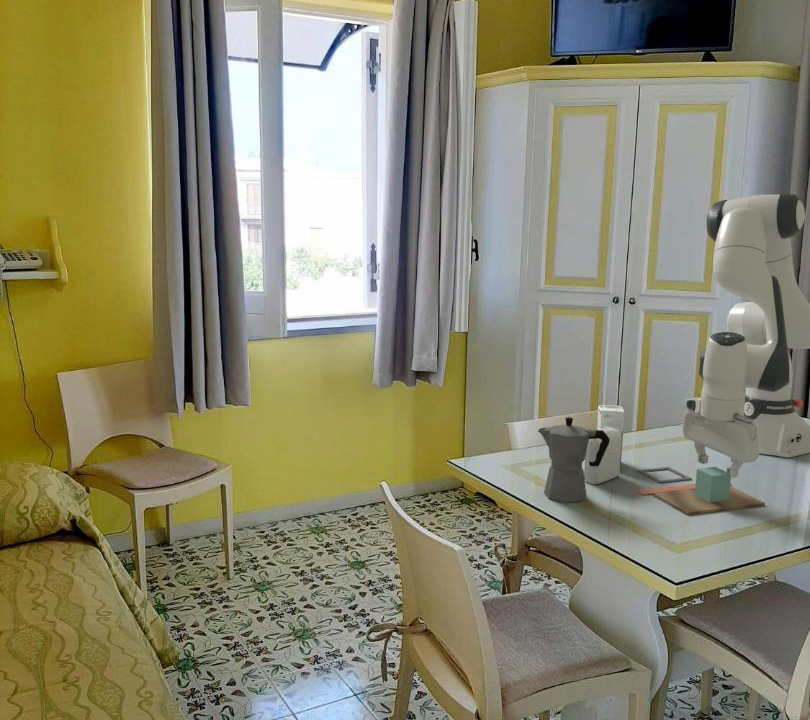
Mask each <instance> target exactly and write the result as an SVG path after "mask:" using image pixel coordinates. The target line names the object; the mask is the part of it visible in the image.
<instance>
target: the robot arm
mask: <svg viewBox="0 0 810 720" xmlns="http://www.w3.org/2000/svg"><path fill="white" fill-rule="evenodd" d="M805 219H806V210H805V207H804V204H803V201H802V199H801V198H800V197H799V196H798V195H797V194H794V193H784V192H781V194H774V193H773V194H753V195H752V196H743V197H738V198H733V199H730V200H728V199H724V200H719V201H717V202H714V203H712V205H711V206H710V207H709V208H708V210H707V213H706V217H705V227H706V231H707V235H708V237H709V238H710V239H711V240H712V241H713V242H715V243H714V251H713V257H712V259H713V260H712V262H713V263H712V271H713V272H712V273H713V277H714V278H715V281H716V283H718V285H719V286H721V287H722V289H724V290H726V291H727V292H729V293H731V294H733V295H734V296H738V297H740V298H743V299H746V300H747V301H742V302H738V303H736V304H734V306H732V307H731V309H730V310H729V312H728V315H727V318H726V326H727V330H728V331H721V332H716V333H712V334H710V336H709V337H708V340H707V343H706V344H707V345H706V347H705V348H704V349H703V350H702V351H701V352H700V354H699V369H698V370H699V371H698V375H699V376H700V378H701V379H703V386H702V389H701V392H700V396H699V397H692V398H685V400H684V408H685V409H686V410H685V411H684V413H683V418H682V419H683V420H682V422H683V423H682V433H683V436H684V439H687V440H690V441H693V442H694V449H695V451H696V454H697V462H698V463H700V464H702V465H704V464H708V462H709V455H708V454H707V452H706V448H708V449H711V450H713V451H714V452H717V453H719V454H723V455H724V456H727V457H728V458H730V462H731V466H730V467H727V468H726V472H727V475H728V476H730V477H731V479H734V478H737V477H738V476H739V470H740V468H741V467H742V466H743V464H747V463H754V462H756V461H757V460H758V459H759V455H768V456H769V455H770V456H777V457H782V458H792V457H798V456H801V455H802V456H803V455H806V454H810V424H809V423H808V422H807V421H806V420H804V419H803V418H802V417H801V416H800V415H799V414H798V413H797V412H795V410H796V409H795V407H796V408H802V407H803V406H804V401H803V400H801V399H798V398H794V399H793V398H792V397H791V396H792V395H791V394H792V389H793V388H792V387H793V378H794V371H793V363H792V358H791V355H790V353H789V352H790V351H789V349H791V350H797V349H798V350H804V349H809V350H810V302H809V301H808V300H807V299H806V297H805V296H804V295H803V293H802V291H801V290H800V287H799V284H798V283H797V279H796V275H795V271H794V270H795V269H794V268H795V267H794V262H793V253H792V251H793V250H792V243H791V239H790V238H792V237H795V236H796V235H798V234H799V233H800V232H801V231H802V230H803V225H804V223H805Z"/></svg>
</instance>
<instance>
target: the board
mask: <svg viewBox="0 0 810 720" xmlns="http://www.w3.org/2000/svg"><path fill="white" fill-rule="evenodd" d="M652 497H655V498H656V499H658V500H659V501H662V502H663V503H665V504H667V505H668V506H670V507H672V508H673V509H675V510H677V511H679V512H681V513H682V514H684V515H686V516H691V515H700V514H708V513H714V512H715V513H716V512H717V513H718V512H724V511H731V510H740V509H747V508H748V509H749V508H755V507H761V506H765V504H766V502H764V501H762V500H760V499H758V498H756V497H753V496H751V495H749V494H747V493H745V492H743V491H741V490H739V489H737V488H735V487H733V486H731V485H730V492H729V500H726V501H718V502H708V501H706V500H704V499H702V498H700V497H698V496H696V495H695V488H693V489H684V490H675V491H667V492H658V493H653V494H652Z"/></svg>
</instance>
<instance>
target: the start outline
mask: <svg viewBox="0 0 810 720" xmlns="http://www.w3.org/2000/svg"><path fill="white" fill-rule="evenodd" d="M657 470H659V471H667V470H668V471H669V472H670V473H674V474H676V475H677V476H680V478H671V479H669V478H668V479H659V478H657V477H655V476H654V475H652V474H649V473H648V472H646V471H649V472H657ZM636 472H638V473H639V472H640V474H641V473H642V475H643V474H644V475H643V476H645V475H646V476H645V477H647V476H648V477H647V478H649V479H651V480H653V481H654V480H655V482H656V481H657V482H656V483H659V484H664V483H665V484H667V483H675V482H683V481H690V480H691V481H692V480H693V478H692V477H690V476H688V475H686V474H684V473H682V472H679V471H678V470H676V469H674V468H671V467H669V466H665V467H664V466H662V467H655V468H645V469H644V468H643V469H637V470H636Z"/></svg>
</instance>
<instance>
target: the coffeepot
mask: <svg viewBox="0 0 810 720" xmlns="http://www.w3.org/2000/svg"><path fill="white" fill-rule="evenodd" d="M573 421H574V418H573V417H570V416H568V417H567V416H566V417H565V424H560V425H559V424H557V425H553V426H550V427H549V426H548V427H541V428H539V429H538V430H537V432H538V433H539V434H540V435H541V436H542V438H543V440H544V442H545V443H546V445H547V447H548V455H549V456H548V457H549V459H550V460H551V463H550V466H549V469H548V472H547V473H548V474H547V478H546V482H545V485H544V486H545V487H544V491H543V493H544V494H545V495H544V496H546V497H547V498H548V499H549V500H552V501H554V502H555V501H556V502H559V503H569V504H570V503H580V502H582V501H584V500H585V498H586V497H587V490H586V488H587V487H586V481H585V479H584V471H585V469H583V462H585V456H586V451H587V446H588V442H589V439H597V438H600V439H601V440H602V442H601V443H600V446H599V451H598V452H597V454H596V460H595V461H594V462H589V464H590V466H599V465H600V462H601V460H602V458H603V456H604V453H605V451H606V449H607V447H608V445H609V442H610V439H609V437H608V436H607V435H606V433H605V432H604V431H602V430H597V429H587V428H586V427H582V426H577V425H573ZM583 499H584V500H583Z"/></svg>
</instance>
